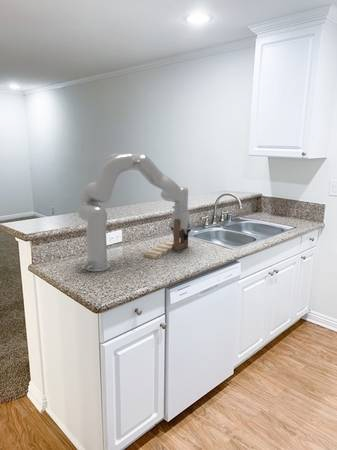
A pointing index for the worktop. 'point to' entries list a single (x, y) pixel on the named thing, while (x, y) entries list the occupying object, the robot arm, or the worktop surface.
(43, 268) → the worktop surface
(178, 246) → the wooden block
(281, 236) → the worktop surface
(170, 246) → the wooden slatted rack
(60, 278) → the worktop surface
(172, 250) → the end mark
